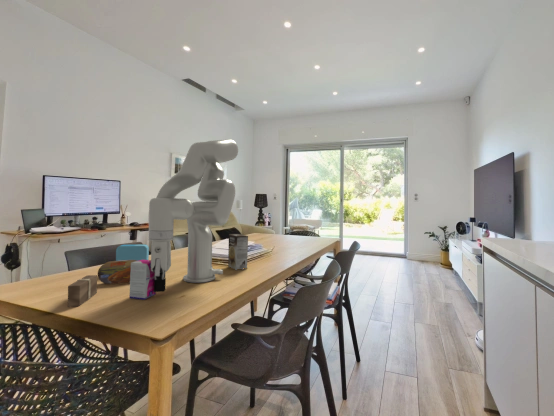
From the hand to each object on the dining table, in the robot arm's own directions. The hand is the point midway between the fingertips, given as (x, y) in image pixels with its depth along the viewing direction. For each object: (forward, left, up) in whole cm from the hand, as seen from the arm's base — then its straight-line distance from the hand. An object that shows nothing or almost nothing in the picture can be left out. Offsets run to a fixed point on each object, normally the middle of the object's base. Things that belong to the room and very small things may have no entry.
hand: (159, 290), depth 89 cm
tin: (+17, -19, -2) cm, 26 cm away
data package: (+17, -34, -2) cm, 38 cm away
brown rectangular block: (+22, 0, -2) cm, 22 cm away
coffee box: (-29, -37, -2) cm, 47 cm away
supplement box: (+5, 0, -2) cm, 5 cm away
